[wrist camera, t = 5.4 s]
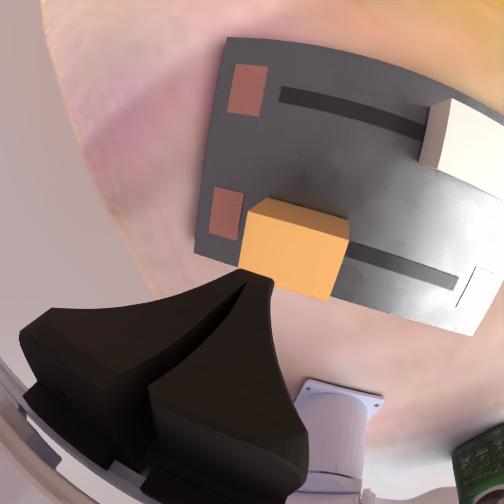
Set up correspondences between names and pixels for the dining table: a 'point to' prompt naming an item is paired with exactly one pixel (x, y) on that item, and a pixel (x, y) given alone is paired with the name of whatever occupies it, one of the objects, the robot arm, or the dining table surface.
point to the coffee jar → (481, 469)
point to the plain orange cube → (294, 247)
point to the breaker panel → (351, 177)
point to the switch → (465, 146)
